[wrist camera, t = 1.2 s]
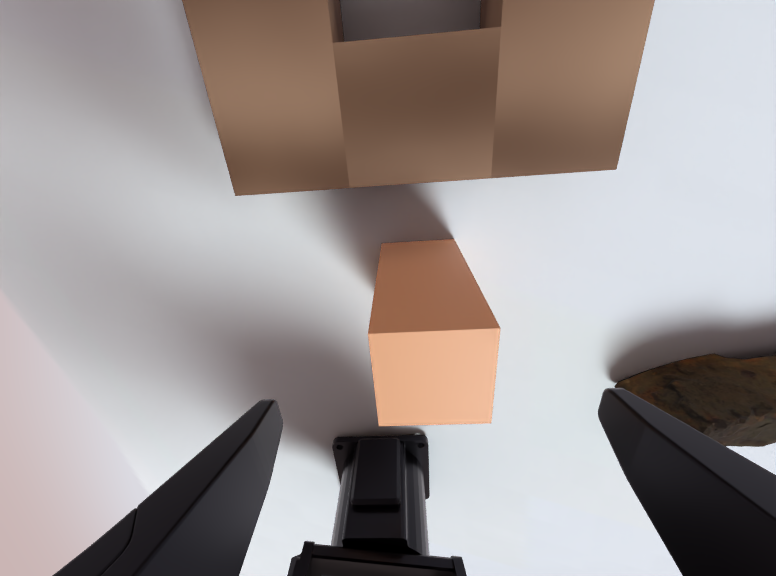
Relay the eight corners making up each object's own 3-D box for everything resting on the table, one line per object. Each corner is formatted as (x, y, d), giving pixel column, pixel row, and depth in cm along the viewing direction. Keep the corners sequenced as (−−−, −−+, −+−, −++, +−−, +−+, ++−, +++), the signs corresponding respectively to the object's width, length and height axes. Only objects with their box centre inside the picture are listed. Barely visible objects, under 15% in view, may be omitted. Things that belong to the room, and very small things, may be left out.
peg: (452, 302, 17) (491, 423, 10) (386, 306, 18) (378, 426, 10) (454, 239, 16) (500, 328, 9) (381, 243, 16) (368, 333, 9)
